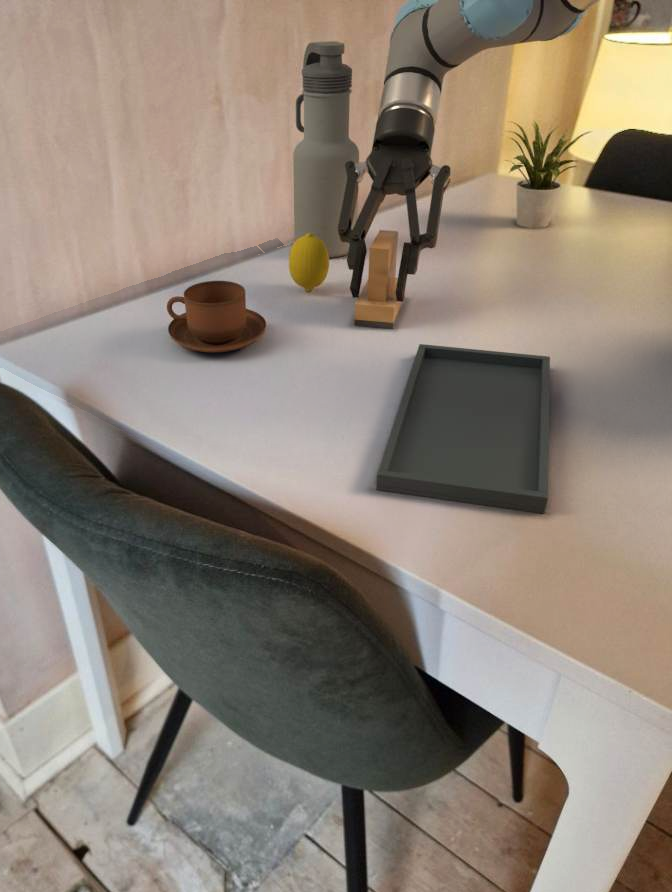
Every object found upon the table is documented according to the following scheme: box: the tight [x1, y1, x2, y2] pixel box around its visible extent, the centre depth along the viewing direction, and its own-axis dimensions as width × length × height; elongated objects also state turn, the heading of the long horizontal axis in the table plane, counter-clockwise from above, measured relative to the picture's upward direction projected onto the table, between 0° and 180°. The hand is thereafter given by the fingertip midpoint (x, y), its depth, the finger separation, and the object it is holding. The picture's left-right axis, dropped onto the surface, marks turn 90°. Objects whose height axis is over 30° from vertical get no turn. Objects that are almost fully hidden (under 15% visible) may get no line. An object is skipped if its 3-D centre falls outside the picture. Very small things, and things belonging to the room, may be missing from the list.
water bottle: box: [292, 40, 360, 259], centre depth 112 cm, size 10×10×28 cm
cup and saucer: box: [166, 280, 267, 353], centre depth 93 cm, size 12×12×6 cm
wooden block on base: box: [353, 229, 407, 330], centre depth 97 cm, size 10×5×10 cm, turn 164°
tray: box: [375, 343, 551, 514], centre depth 77 cm, size 28×15×2 cm, turn 164°
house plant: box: [505, 118, 593, 229], centre depth 124 cm, size 14×14×16 cm
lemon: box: [288, 233, 330, 292], centre depth 104 cm, size 6×6×8 cm
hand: (376, 294), depth 95 cm, fingers closed on wooden block on base, 5 cm apart
